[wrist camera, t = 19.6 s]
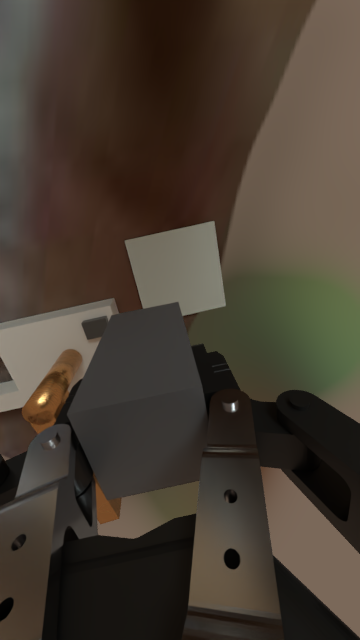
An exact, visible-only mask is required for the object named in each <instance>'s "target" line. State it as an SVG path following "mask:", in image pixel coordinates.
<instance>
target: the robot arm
mask: <svg viewBox="0 0 360 640" xmlns="http://www.w3.org/2000/svg"><path fill="white" fill-rule="evenodd" d="M191 348H192V352H193V355H194V359H195V362H196V366H197V370H198V373H199V377H200V380H201V384H202V388H203V394H204V399H205V405H206V411H207V416H208V422H209V424H208V437H207V448H203V452H202V460H201V471H200V482H199V493H198V505H197V514H192V515H188V516H183V517H178V518H174V519H172V520H170V521H168V522H167V523H165V524H163V525H161V526H159V527H157V528H155V529H153V530H151V531H150V532H148V533H146V534H144V535H142V536H140V537H138V538H135V539H128V538H119V537H110V536H100V535H98V529H97V505H96V483H95V479H94V477H93V470H92V467H91V465H90V463H89V461H88V459H87V457H86V455H85V452H84V450H83V448H82V446H81V444H80V442H79V440H78V437H77V435H76V433H75V431H74V429H73V427H72V425H71V422H70V420H69V418H68V416H67V412H68V410H69V408H70V406H71V403H72V401H73V399H74V397H75V395H76V392H77V390H78V388H79V386H80V384H81V381H82V379H80V380H79V381H78V382H77V383H76V384H75V385H74V386H73V387H72V389H71V391H70V393H69V395H68V396H69V397H67V399H66V401H65V404H64V405H63V407H62V409H61V411H60V413H59V415H58V417H57V419H56V421H55V423H54V425H53V426H51V427H48V428H47V429H45V430H43V431H42V432H40V433H39V434H38V435H37V436H36V437H35V438H34V439H33V440H32V442H31V443H30V445H29V448H28V451H26V452H24V453H22V454H20V455H17V456H15V457H13V458H11V459H9V460H6V461H5V460H4V459H3V457H2V456H1V454H0V640H360V638H359V637H358V636H357V635H356V634H355V633H354V632H353V631H352V630H351V629H350V628H349V627H348V626H347V625H346V624H345V623H344V622H342V621H341V620H340V619H339V618H338V617H337V616H336V615H335V614H334V613H333V612H332V611H331V610H330V609H329V608H328V607H327V606H326V605H325V604H323V602H321V601H320V600H319V599H318V598H317V597H316V596H315V595H314V594H313V593H312V592H311V591H310V590H309V589H308V588H307V587H306V586H305V585H304V584H303V583H302V582H301V581H300V580H298V579H297V578H296V577H295V576H294V575H293V574H292V573H291V572H290V571H289V570H288V569H287V568H286V567H285V566H284V565H283V564H282V563H281V562H280V561H279V560H277V559H276V558H275V557H274V556H273V555H272V547H271V540H270V533H269V526H268V519H267V511H266V504H265V497H264V490H263V482H262V475H261V469H260V466H262V467H271V468H280V469H282V471H283V472H284V473H285V474H286V475H287V477H288V478H289V479H290V480H291V481H292V482H293V483H294V484H295V485H296V486H297V487H298V488H299V489H300V490H301V491H302V493H303V494H304V495H305V496H306V497H307V498H308V499H309V500H310V501H311V502H312V503H313V504H314V505H315V506H316V507H317V508H318V510H319V511H320V512H321V513H322V514H323V515H324V516H325V517H326V518H327V519H328V520H329V521H330V523H331V524H332V525H333V526H334V527H335V528H336V529H337V530H338V531H339V532H340V533H341V534H342V535H343V536H344V537H345V539H346V540H347V541H348V542H349V543H350V544H351V545H352V546H353V547H354V548H355V549H356V550H357V551H358V552H359V554H360V424H359V423H358V422H356V421H355V420H353V419H351V418H350V417H348V416H347V415H345V414H343V413H342V412H340V411H339V410H337V409H336V408H334V407H332V406H331V405H329V404H328V403H326V402H324V401H323V400H321V399H320V398H318V397H317V396H315V395H313V394H311V393H309V392H305V391H301V390H289V391H286V392H283V393H282V394H280V395H279V396H278V398H277V400H276V402H260V401H256V400H252V399H250V398H249V396H248V395H247V394H246V393H244V392H243V391H241V390H240V388H239V386H238V384H237V382H236V380H235V378H234V376H233V374H232V372H231V370H230V369H229V366H228V364H227V362H226V360H225V358H224V356H223V355H221V354H220V353H218V352H217V351H215V352H210V353H207V352H206V349H205V347H204V344H199V345H193V346H191Z"/></svg>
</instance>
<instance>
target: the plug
mask: <svg viewBox="0 0 360 640" xmlns="http://www.w3.org/2000/svg"><path fill="white" fill-rule="evenodd" d="M67 416H68V418H69V420H70V422H71V425H72V427H73V429H74V431H75V433H76V435H77V437H78V440H79V442H80V444H81V446H82V448H83V450H84V452H85V455H86V457H87V459H88V461H89V463H90V465H91V467H92V470H93V472H94V474H95V476H96V478H97V480H98V482H99V484H100V487H101V489H102V491H103V493H104V495H105V497H106V499H107V500H112V499H116V498H121V497H126V496H130V495H135V494H140V493H144V492H149V491H154V490H158V489H163V488H167V487H172V486H177V485H181V484H186V483H191V482H195V481H200V471H201V460H202V452H203V448H207V437H208V424H209V422H208V416H207V411H206V405H205V399H204V394H203V388H202V384H201V380H200V377H199V373H198V370H197V366H196V362H195V359H194V355H193V352H192V348H191V345H190V341H189V338H188V334H187V331H186V327H185V324H184V320H183V316H182V313H181V309H180V306H179V302H174V303H169V304H164V305H159V306H155V307H150V308H145V309H140V310H135V311H130V312H125V313H120V314H115V315H111V318H110V320H109V322H108V324H107V326H106V329H105V331H104V333H103V335H102V337H101V340H100V342H99V344H98V346H97V348H96V351H95V353H94V355H93V357H92V359H91V362H90V364H89V366H88V368H87V370H86V373H85V375H84V377H83V379H82V381H81V384H80V386H79V388H78V390H77V392H76V395H75V397H74V399H73V401H72V403H71V406H70V408H69V410H68V412H67Z"/></svg>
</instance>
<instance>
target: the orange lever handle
mask: <svg viewBox="0 0 360 640" xmlns="http://www.w3.org/2000/svg"><path fill="white" fill-rule="evenodd" d="M81 363H82V356H81V354H80V353H79V352H78V351H76V350H74V349H67V350H65V351H63V352H62V353H61V355H60V356H59V357H58V359H57V360H56V362H55V363H54V364H53V366H52V367H51V369H50V370H49V371H48V373H47V374H46V376H45V377H44V379H43V380H42V381H41V383H40V384H39V386H38V387H37V388H36V390H35V391H34V393H33V394H32V395H31V397H30V398H29V400H28V401H27V402H26V404H25V405H24V407H23V408H22V415H23V417H24V419H25V420H26V421H28V422H29V423H31V425H32V426H33V428H34V429H35V431H36V432H37V433H38V434H39V433H40V432H42V431H43V430H45V429H47V428H48V427H51V426H53V425H54V423H55V421H56V419H57V417H58V415H59V413H60V411H61V409H62V407H63V405H64V404H65V401H66V399H67V397H69V396H68V395H69V391H68V388H69V386H70V384H71V382H72V380H73V378H74V376H75V374H76V372H77V370H78V368H79V366H80V365H81ZM93 477H94V479H95V483H96V505H97V519H98V521H99V522H100V524H103V523H106V522H109V521H113V520H116V519H119V516H120V507H121V498H122V497H121V498H116V499H112V500H107V499H106V497H105V495H104V493H103V491H102V489H101V487H100V484H99V482H98V480H97V478H96V476H95V474H94V472H93Z"/></svg>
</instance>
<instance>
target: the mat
mask: <svg viewBox="0 0 360 640" xmlns="http://www.w3.org/2000/svg"><path fill="white" fill-rule="evenodd" d="M125 245H126V248H127V252H128V256H129V259H130V263H131V267H132V270H133V274H134V278H135V281H136V285H137V289H138V292H139V296H140V299H141V303H142V307H143V309H145V308H150V307H155V306H159V305H164V304H169V303H174V302H179V306H180V309H181V313H182V316H184V315H189V314H193V313H198V312H202V311H207V310H211V309H215V308H220V307H224V306H226V303H225V296H224V289H223V282H222V274H221V267H220V260H219V252H218V245H217V238H216V231H215V223H214V221H212V222H207V223H203V224H198V225H193V226H189V227H184V228H180V229H175V230H171V231H166V232H161V233H157V234H152V235H148V236H143V237H138V238H134V239H129V240H125Z"/></svg>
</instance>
